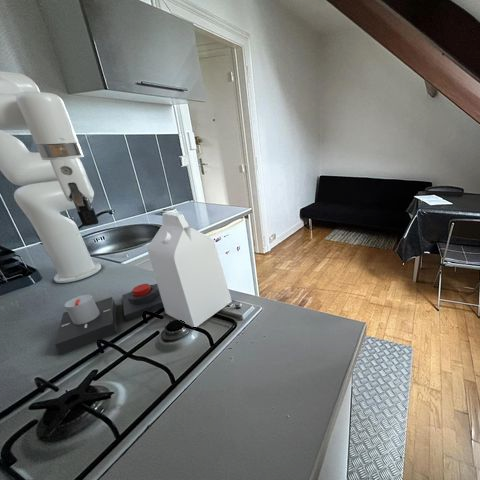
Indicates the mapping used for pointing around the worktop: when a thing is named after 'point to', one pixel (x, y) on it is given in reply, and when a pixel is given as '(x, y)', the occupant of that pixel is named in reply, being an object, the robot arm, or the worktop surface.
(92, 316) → the knob
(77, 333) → the panel
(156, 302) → the power block
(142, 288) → the power button
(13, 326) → the worktop surface
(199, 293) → the milk
